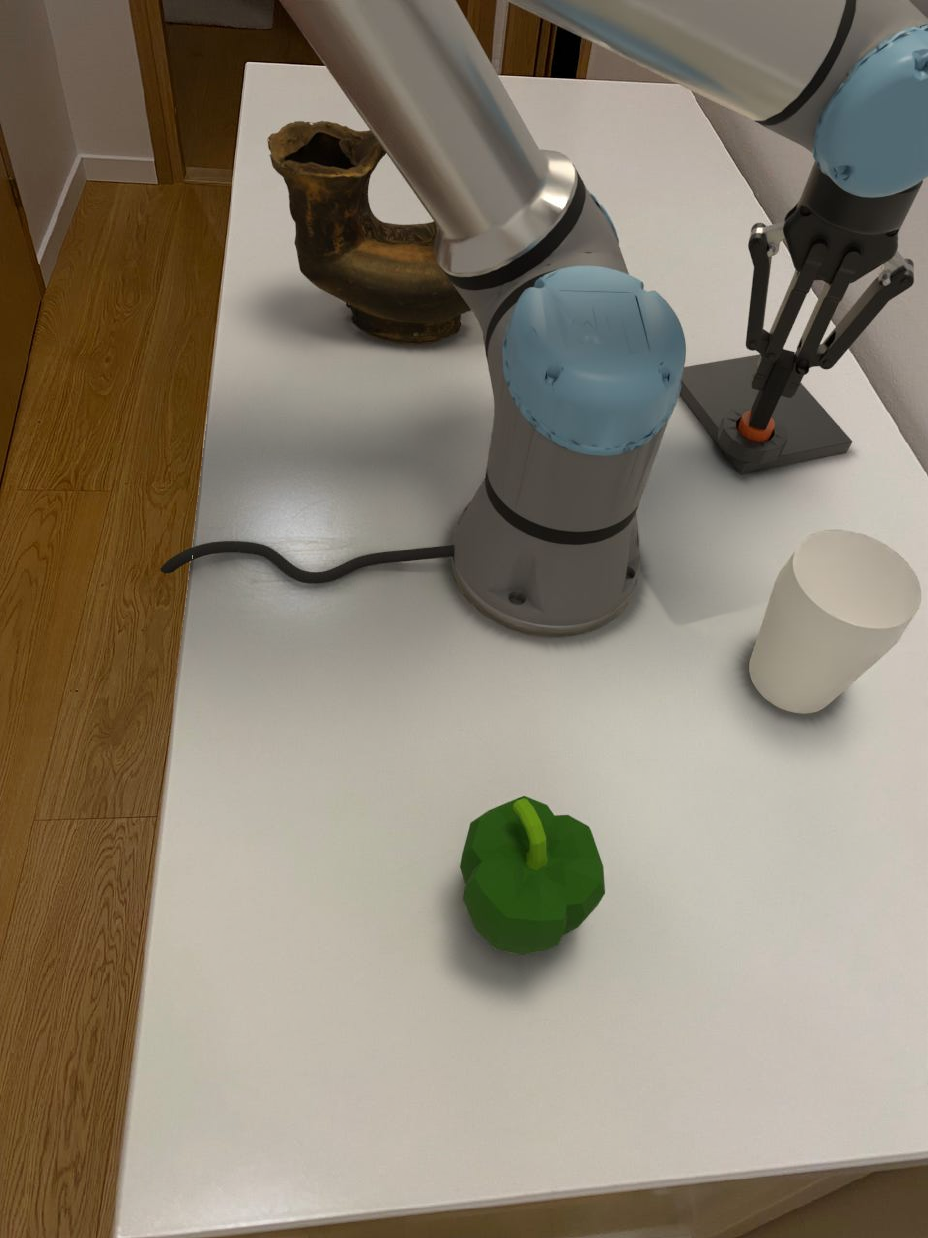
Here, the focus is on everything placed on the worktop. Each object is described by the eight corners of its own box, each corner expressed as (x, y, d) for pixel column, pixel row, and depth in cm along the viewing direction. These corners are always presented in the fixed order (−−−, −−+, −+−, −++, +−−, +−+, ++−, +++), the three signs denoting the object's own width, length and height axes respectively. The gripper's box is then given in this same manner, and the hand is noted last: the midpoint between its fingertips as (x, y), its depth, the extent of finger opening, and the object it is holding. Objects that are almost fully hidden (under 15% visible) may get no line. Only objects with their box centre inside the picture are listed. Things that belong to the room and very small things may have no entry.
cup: (852, 740, 70) (931, 644, 60) (731, 713, 70) (790, 613, 61) (846, 645, 75) (917, 543, 66) (734, 620, 76) (789, 515, 66)
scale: (733, 480, 86) (744, 455, 84) (659, 381, 94) (668, 356, 92) (849, 455, 90) (863, 431, 87) (769, 362, 98) (779, 338, 95)
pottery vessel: (274, 344, 92) (259, 137, 76) (280, 280, 98) (268, 77, 83) (529, 355, 95) (565, 157, 79) (518, 292, 101) (549, 98, 86)
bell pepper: (593, 971, 57) (632, 910, 50) (458, 978, 56) (476, 917, 49) (572, 842, 63) (605, 768, 55) (449, 846, 62) (464, 771, 54)
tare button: (746, 449, 86) (753, 434, 84) (729, 427, 87) (736, 412, 86) (774, 443, 86) (781, 428, 85) (757, 422, 88) (763, 407, 87)
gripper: (964, 156, 68) (832, 412, 87) (786, 114, 70) (693, 375, 88) (969, 205, 64) (828, 464, 82) (778, 159, 65) (681, 425, 84)
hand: (758, 418), depth 85 cm, fingers closed
